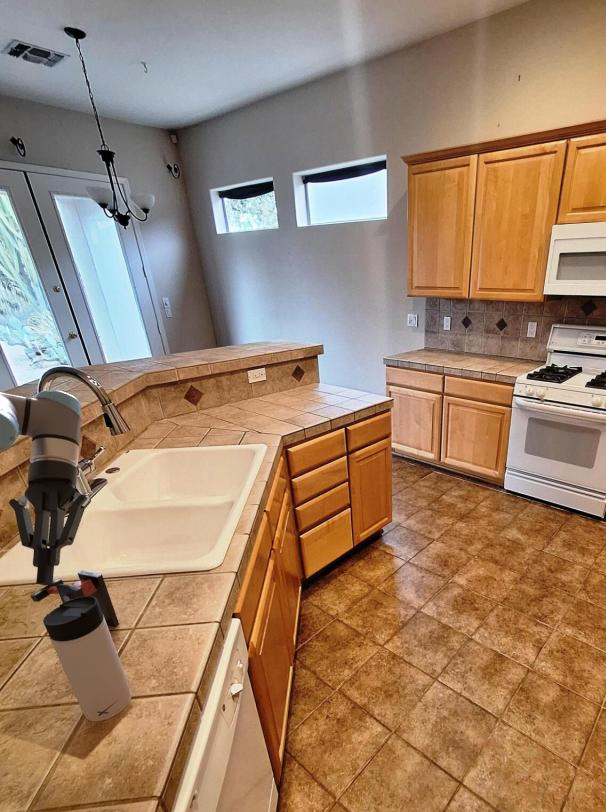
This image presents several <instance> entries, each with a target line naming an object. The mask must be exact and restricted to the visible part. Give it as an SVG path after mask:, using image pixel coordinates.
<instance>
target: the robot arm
mask: <svg viewBox="0 0 606 812" xmlns="http://www.w3.org/2000/svg"><path fill="white" fill-rule="evenodd" d="M82 419H83V418H82V405H81V401H79V399H78V398H77V397H76V396H74V395H72V394H70V393H67V392H64V391H61V390H49V389H47V390H42V391H39V392H38V393H37V394H36V396H35V398H32V397H25V396H20V395H15V394H10V393H5V392H0V452H4V451H6V450H8V449H9V448H11V447H12V446H13V445H14V444H15V442H16V441H17V440H18V437H19V436H23V437H31V445H30V446H31V447H30V453H29V462H30V464H29V465H28V474H27V487H26V489H25V491H24V494H23V496H21V497H19V498H17V499H16V498H12V499H10V500H9V501H8V504H9V506H10V507H11V508H12V509H13V511H14V514H15V520H16V525H17V529H18V532H19V538H20V543H21V546H22V547H25V548H28V549H31V550H32V551H33V557H32V566H33V567H34V568H37V571H36V579H35V580H36V581H35V582H36V583H35V584H36V585H39V586H41V585H42V586H47V585H49V584H51V583H52V582H54V574H55V573H54V572H55V567H58V566H59V565H60V562H61V550H62V549H63V548H64V547H66V546H72V545H73V544H74V542H75V539H76V536H77V533H78V530H79V527H80V524H81V521H82V518H83V516H84V513H85V511H86V509H87V507H88V506H89V505H90V504H91V502H92V499H91V498H90V497H88V496H87V495H86V494H84V493H83V494H81V493H79V489H78V488H77V484H78V473H79V472H78V468H77V467H78V465H79V452H80V451H79V450H80V439H81V427H82ZM72 502H73V503H72ZM29 503H30V504H31V505H32V506H33V512H34V526H33V521H32V517H31V511H30V510H29V508H30V504H29ZM70 505H71V506H70ZM69 506H70V510H69V512H68V515H67V509H68V507H69ZM66 515H67V517H66V520H65V516H66Z"/></svg>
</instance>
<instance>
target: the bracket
mask: <svg viewBox="0 0 606 812" xmlns="http://www.w3.org/2000/svg"><path fill="white" fill-rule="evenodd" d="M77 576H78V579H79V580H89V579H90V580H91V581H92V583H93V585H94V586H95V588H96V590H97V591H95V592H94V593H92V594H91V595H90V596H93V597H96V598H97V600H98V603H99V606H100V609H101V611H102V614H103V615H104V618H105V621H106V624H107V626H108V627H111V628H116V627H118V626H120V621H119V619H118V616H117V613H116V610H115V607H114V605H113V602H112V599H111V597H110V594H109V591H108V588H107V584H106V581H105V579H104V576H103V574H101V573H97V572H93V571H92V572H91V571H87V570H80V571H79V572H77ZM70 585H71V584H65V583H64V584H60V585H58V586H57V587H56V588H57V590H58V593H59V594H58V596H59V598H60V600H61V602H62V603H64V602H66V601H69V600H71V599H74V598H78V597H82V596H84V593H83V590H82V588H80V587H75V586H70Z"/></svg>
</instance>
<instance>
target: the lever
mask: <svg viewBox="0 0 606 812" xmlns="http://www.w3.org/2000/svg"><path fill="white" fill-rule="evenodd" d="M60 584H65V583H64V581H63V580H62V579H55V580H53V582H52V583H51V584H49V585H45V586H44V587H42V588H40V589H39V590H37V591H35V592H34V593H32V594H30V598H31V600H32V601H33V602H35V603H37V602H41V601H42V600H44V599H45V598H47V597H49V596H50V595H59V593H58V590H57V588H56V587H57V586H58V585H60ZM69 585H70V586H75V587H80V588H82V590H83V593H84V596H90V595H91V594H92V593H94V592H95V591H97V590H96V588H95V586H94V585H93V583H92V581H91V580H90V579H89V580H80V579H79V580H77V581H76V582H74V583H72V584H69Z"/></svg>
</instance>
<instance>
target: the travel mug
mask: <svg viewBox="0 0 606 812" xmlns="http://www.w3.org/2000/svg"><path fill="white" fill-rule="evenodd" d="M42 623H43V625H44V628H45V630H46V632H47V634H48V637H49V640H50V641H51V642H50V643H51V645H52V647H53V649H54V651H55V654H56V655H57V656H56V657H57V658H58V660H59V663H60V665H61V667H62V669H63V670H64V674H65V675H66V679H67V680H68V682H69V683H68V684H69V685H70V687H71V689H72V692H73V693H74V696H75V698H76V700H77V702H78V705H79V707H80V709H81V712H82V714H83V716H84V718H85V719H86V720H88V721H90V722H100V721H105V720H107V719H110V718H112V717H114V716H116V715H118V714H119V713H120V712H122V711H123V710H124V709H125V708H127V706H128V705H129V703H130V702H131V700H132V697H133V692H132V689H131V687H130V684H129V682H128V679H127V676H126V673H125V670H124V668H123V665H122V662H121V660H120V657H119V654H118V651H117V648H116V646H115V643H114V641H113V637H112V634H111V632H110V630H109V626H107V624H106V621H105V618H104V615H103V614H102V611H101V609H100V606H99V603H98V600H97V598H96V597H93V596H82V597H78V598H74V599H71V600H69V601H66V602H64V603H63V602H62V603H61V604H59V605H58V607H56V608H54V609H53V610H52V611H50V612H49V613H46V615H45V616H44V617H43V619H42Z"/></svg>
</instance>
